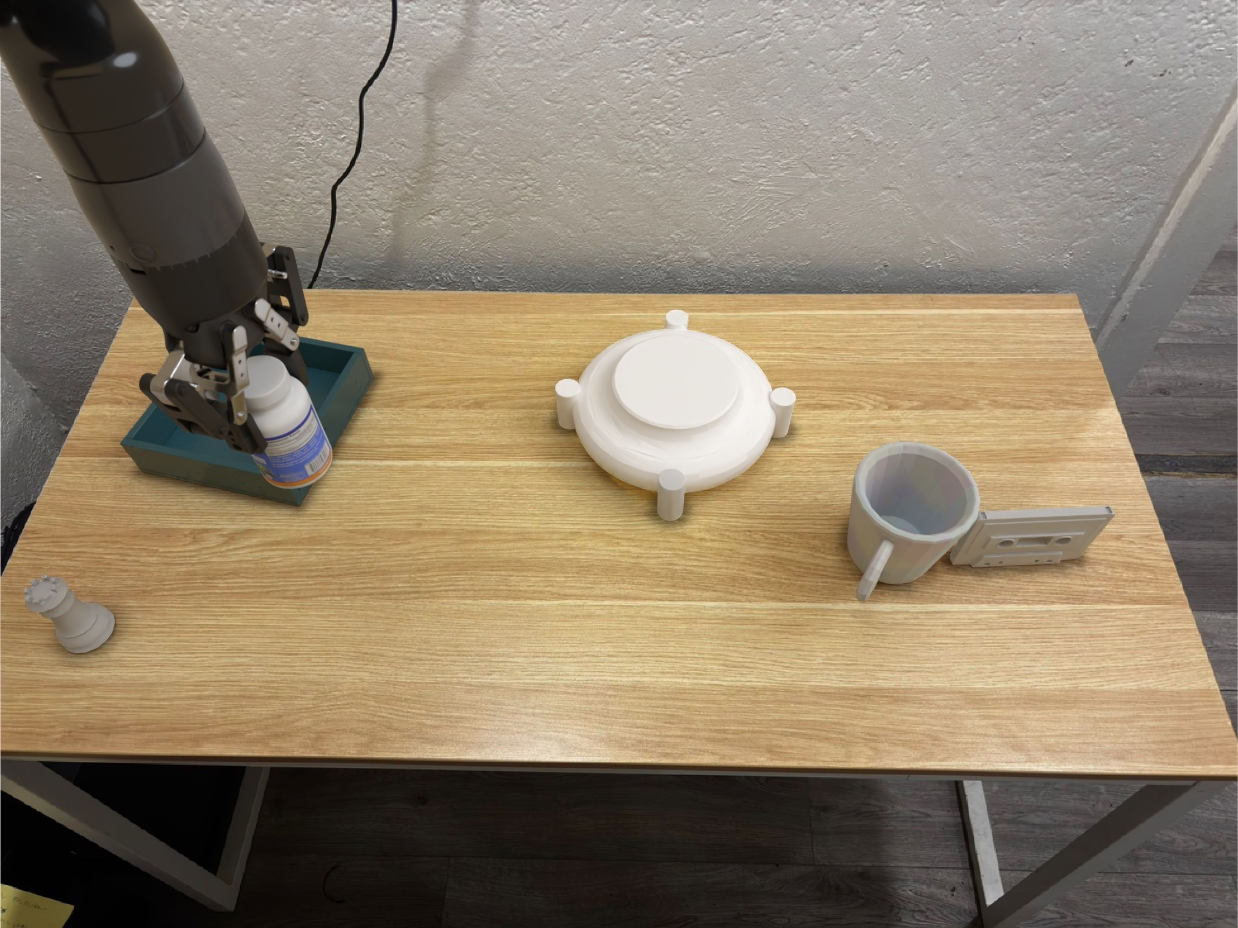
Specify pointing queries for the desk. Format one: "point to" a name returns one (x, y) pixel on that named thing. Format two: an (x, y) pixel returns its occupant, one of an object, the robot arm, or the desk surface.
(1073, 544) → the cassette
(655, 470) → the round stand with pegs
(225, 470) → the shallow teal tray
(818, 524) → the desk surface
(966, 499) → the mug
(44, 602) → the rook chess piece
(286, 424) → the pill bottle
